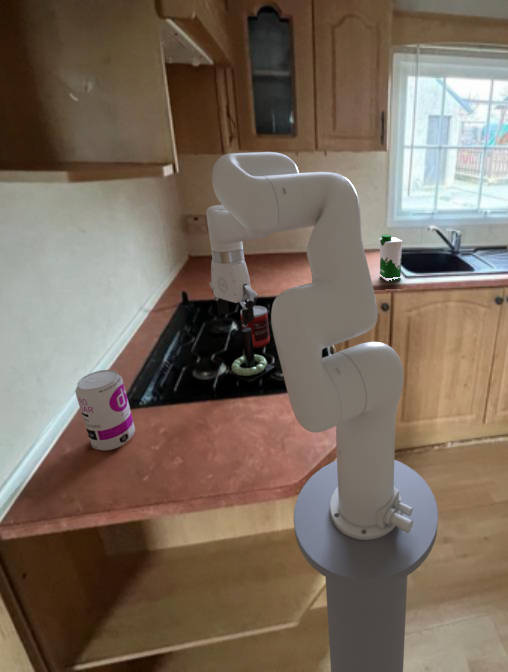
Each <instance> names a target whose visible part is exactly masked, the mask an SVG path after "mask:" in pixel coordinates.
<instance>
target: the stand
mask: <svg viewBox="0 0 508 672" xmlns="http://www.w3.org/2000/svg"><path fill="white" fill-rule="evenodd" d="M241 335H242V342H243V343H242V344H243V353H244V356H245V360H246V363H244V364H242V365H240V367H241V368H252V367H255V366H257V365H259V363H258V362H255V357H254V355H255V350H254V349H255V348H253V339H252V331H251V328H244V329H242V328H241ZM273 372H276V366H274V365H272V364H269V363H267V365H266V367H265V369H264V370H263V371H261V372H260V373H258V374H255V375H251V376H240V375H237V374H235V373H234V372H233V370H232V369H230V370H228V371H226V374H227V377H230V378H232V379H234V380H235V381H239V382H241V383H243V384H245V385H247V386H250V387H252V386H253V385H254V384H256V383H258V382H259V381H261V380H263V379H264V378H265V377H267V376H268V375H271V374H272V373H273Z"/></svg>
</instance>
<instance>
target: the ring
mask: <svg viewBox="0 0 508 672" xmlns="http://www.w3.org/2000/svg"><path fill="white" fill-rule="evenodd" d="M254 357H255V362H258V363H259V365H257V366H255V367H252V368H241V367H240V365H242V364H244V363H246V360H245V355H242V356H240V357H238V358H235V359H234V360H233V362H232V364H231V370H233V372H234V373H235V374H237V375H240V376H251V375H255V374H258V373H260V372H261V371H263V370H264V369H265V367H266V365H267V364H268V361H267V359H266V358H265V356H262V355H260V354H254Z"/></svg>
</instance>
